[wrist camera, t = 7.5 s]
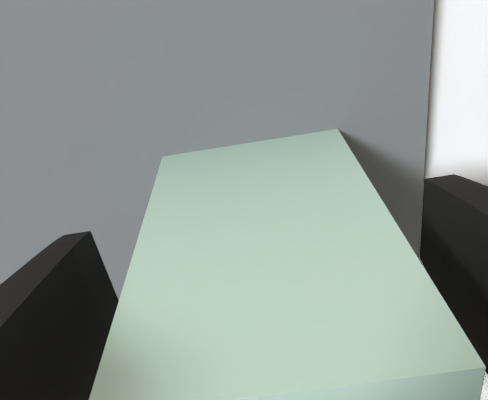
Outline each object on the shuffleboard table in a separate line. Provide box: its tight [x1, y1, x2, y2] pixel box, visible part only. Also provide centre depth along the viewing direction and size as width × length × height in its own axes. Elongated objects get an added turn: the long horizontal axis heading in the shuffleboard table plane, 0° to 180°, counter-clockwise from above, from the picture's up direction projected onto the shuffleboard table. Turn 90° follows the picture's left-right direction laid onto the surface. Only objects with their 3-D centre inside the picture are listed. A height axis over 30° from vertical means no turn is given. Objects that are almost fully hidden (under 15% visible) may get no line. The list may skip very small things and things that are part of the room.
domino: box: [89, 129, 486, 400], centre depth 9 cm, size 2×5×8 cm, turn 99°
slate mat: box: [0, 0, 434, 300], centre depth 17 cm, size 14×29×1 cm, turn 9°
